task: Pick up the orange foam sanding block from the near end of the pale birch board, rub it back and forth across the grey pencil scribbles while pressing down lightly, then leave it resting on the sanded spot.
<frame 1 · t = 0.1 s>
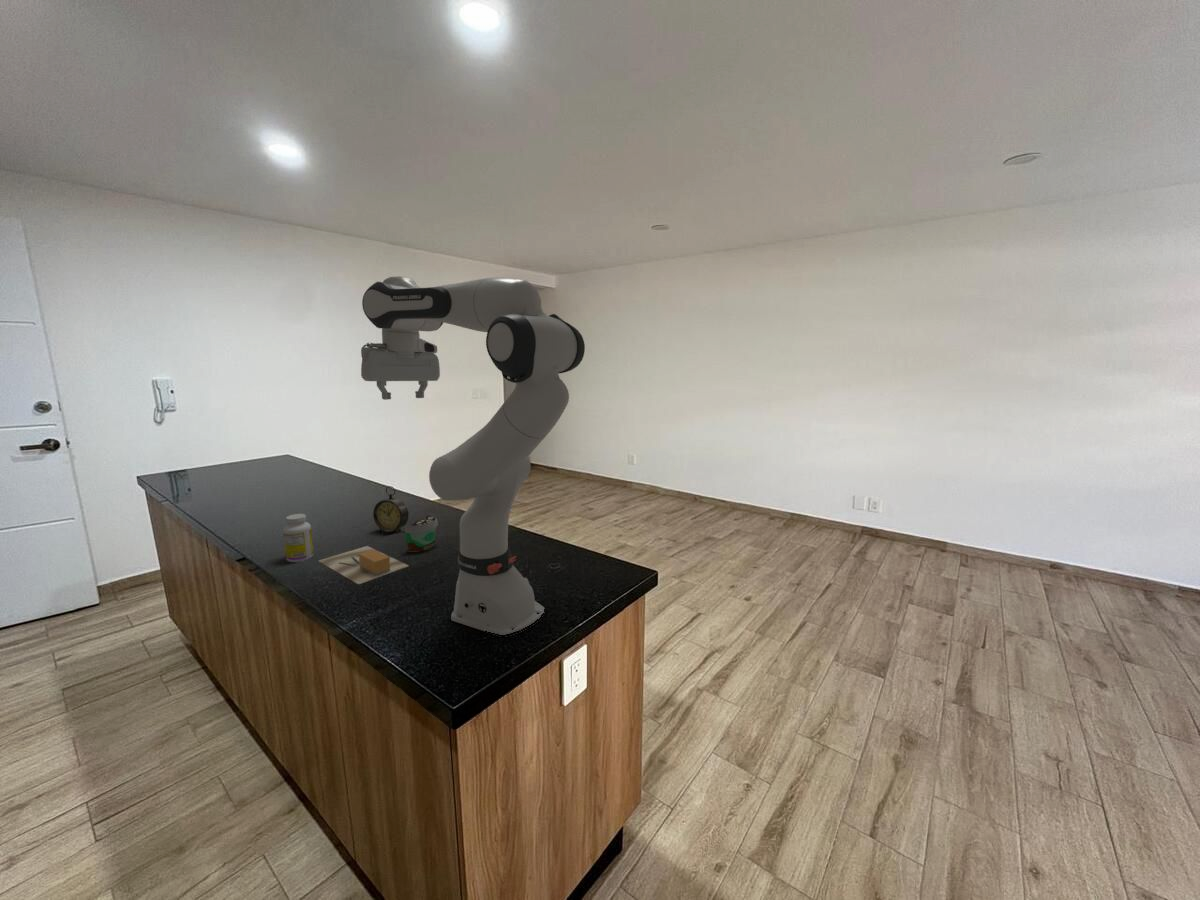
hand: (403, 398, 119), 48 cm above the countertop, tool pointing down, fingers open, 8 cm apart
alarm clock: (392, 533, 154), on the countertop
birch board: (363, 568, 127), on the countertop
supplement bottle: (300, 559, 131), on the countertop
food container: (426, 551, 140), on the countertop
sanding block: (374, 569, 123), point 1 cm above the countertop, touching birch board
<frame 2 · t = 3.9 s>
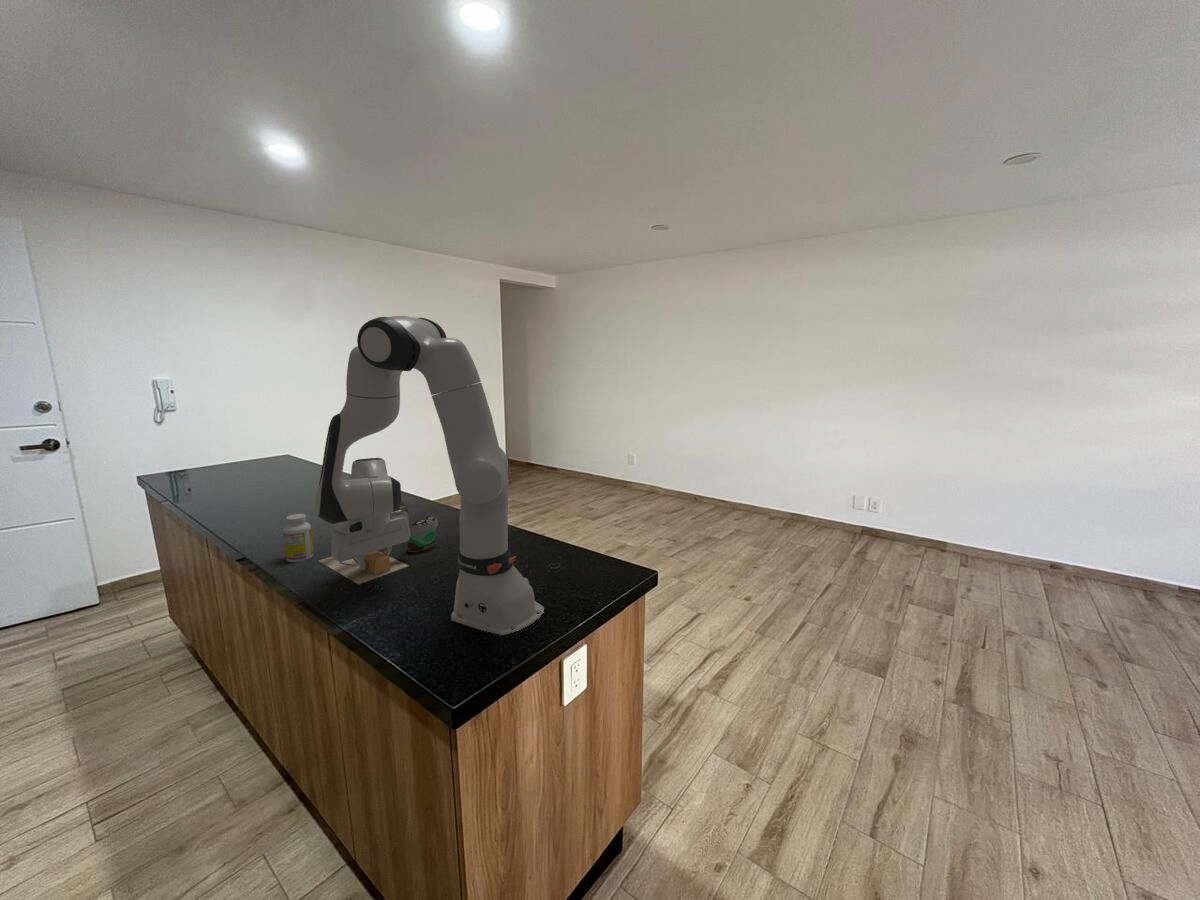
hand: (374, 565, 123), 3 cm above the countertop, tool pointing down, fingers closed on sanding block, 4 cm apart
sanding block: (374, 569, 123), point 1 cm above the countertop, touching birch board, gripper
everything else where it was.
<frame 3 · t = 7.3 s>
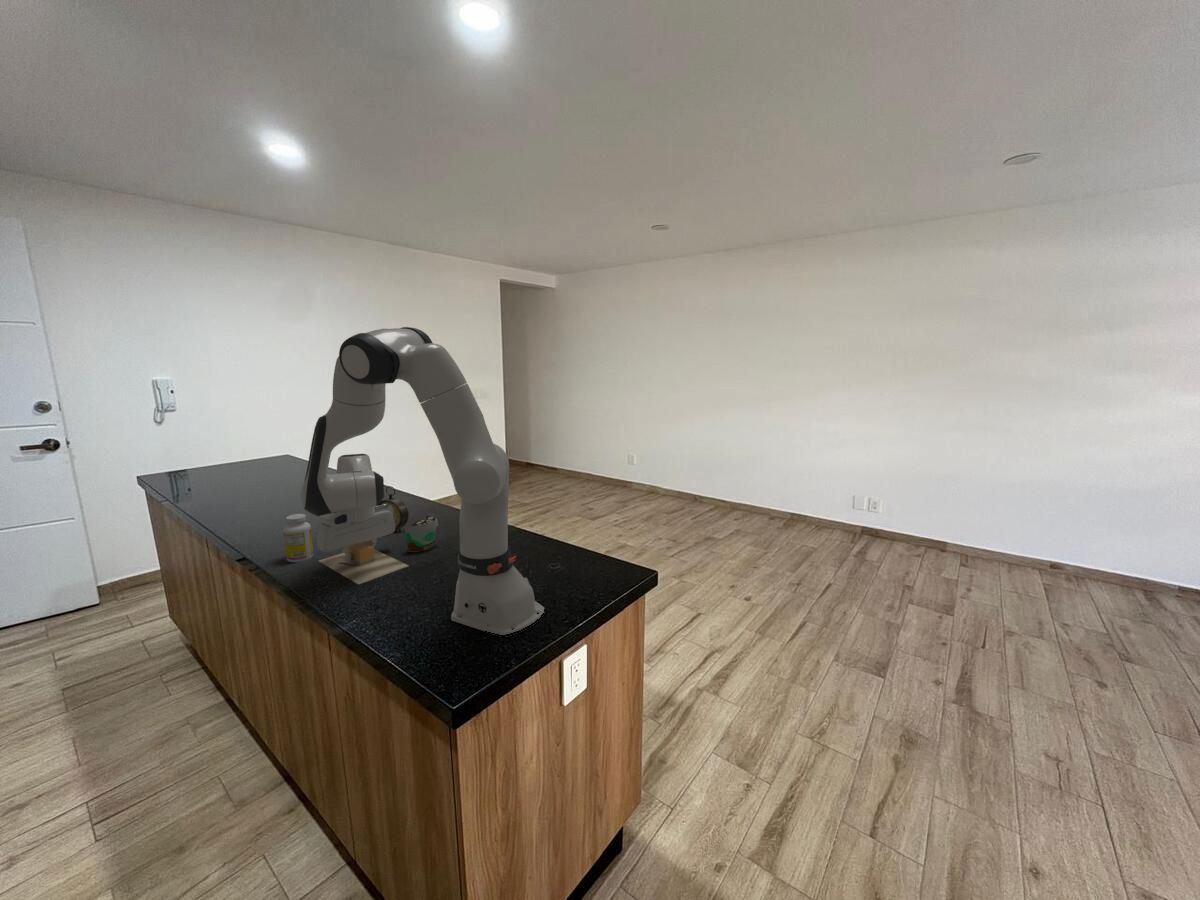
hand: (360, 556, 129), 2 cm above the countertop, tool pointing down, fingers closed on sanding block, 4 cm apart
sanding block: (360, 559, 129), point 2 cm above the countertop, touching gripper
everything else where it was.
when the fingers open (3 cm above the countertop, at t = 12.6 s): sanding block stays where it is, resting on birch board.
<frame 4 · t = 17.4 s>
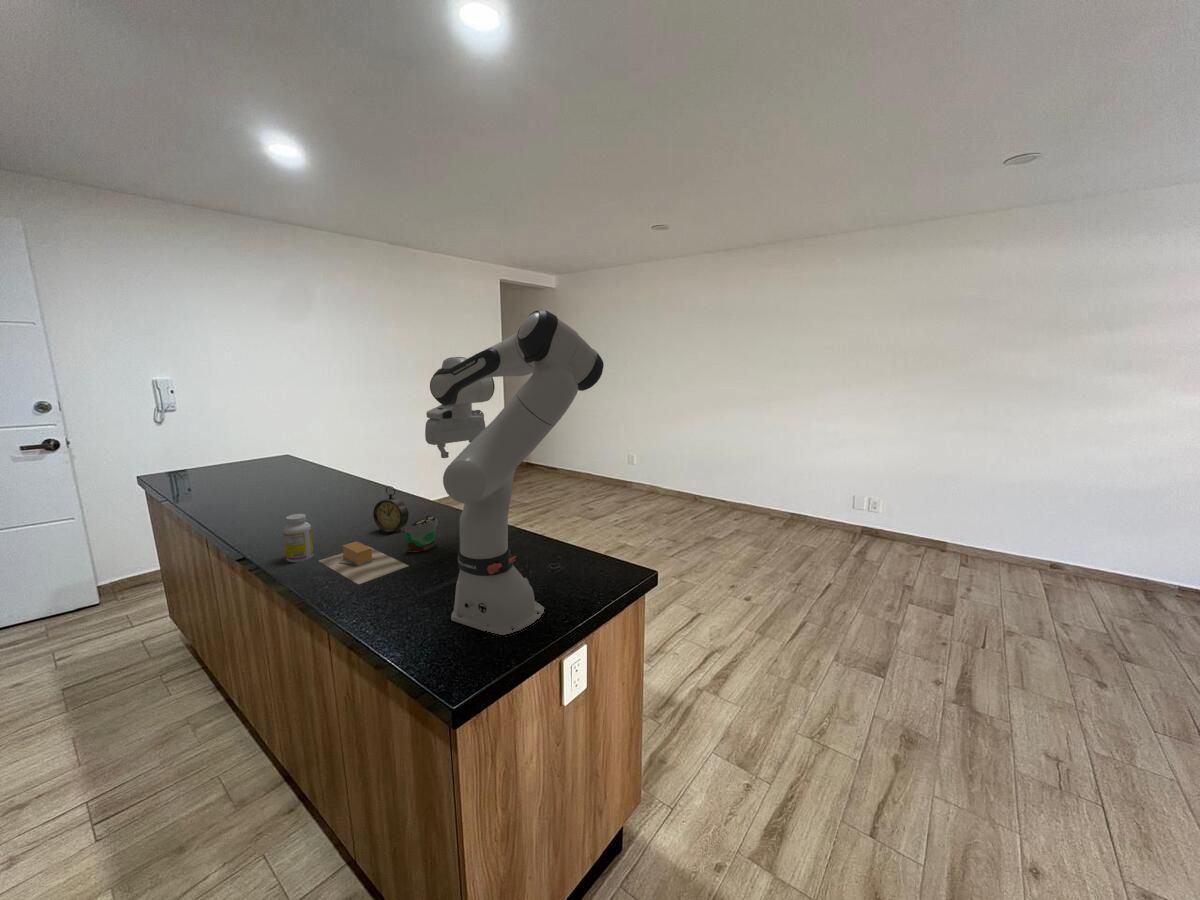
hand: (457, 455, 141), 29 cm above the countertop, tool pointing down, fingers open, 8 cm apart
sanding block: (357, 560, 128), point 2 cm above the countertop, touching birch board
everything else where it was.
at the end: sanding block inside the target area (0.0 cm from its centre), point 1.5 cm above the countertop; the gripper is holding nothing; sanding block tilted 0° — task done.
